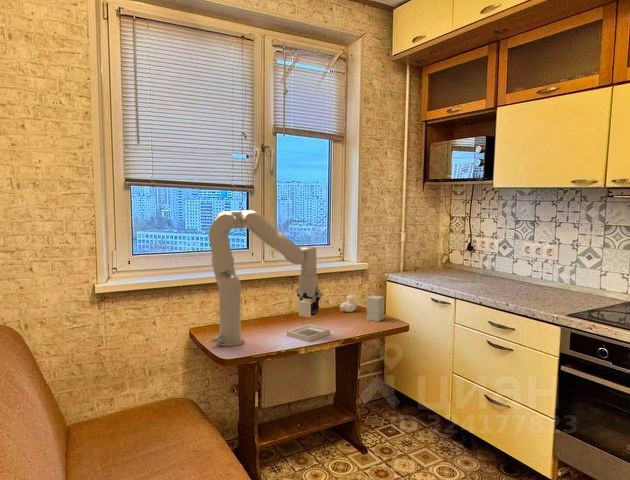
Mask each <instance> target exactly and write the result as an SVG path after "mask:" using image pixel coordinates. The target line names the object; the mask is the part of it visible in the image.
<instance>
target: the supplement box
mask: <svg viewBox="0 0 630 480" xmlns="http://www.w3.org/2000/svg"><path fill="white" fill-rule="evenodd" d="M384 312H385V296H381V295H380V296H379V295H374V294H371V295H370V296H368V297H366V320H367V321H371V320H373V322H378V321H379V322H381V321H382V319H383V320H384V319H385V318H384V317H385V313H384ZM380 320H381V321H380Z"/></svg>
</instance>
